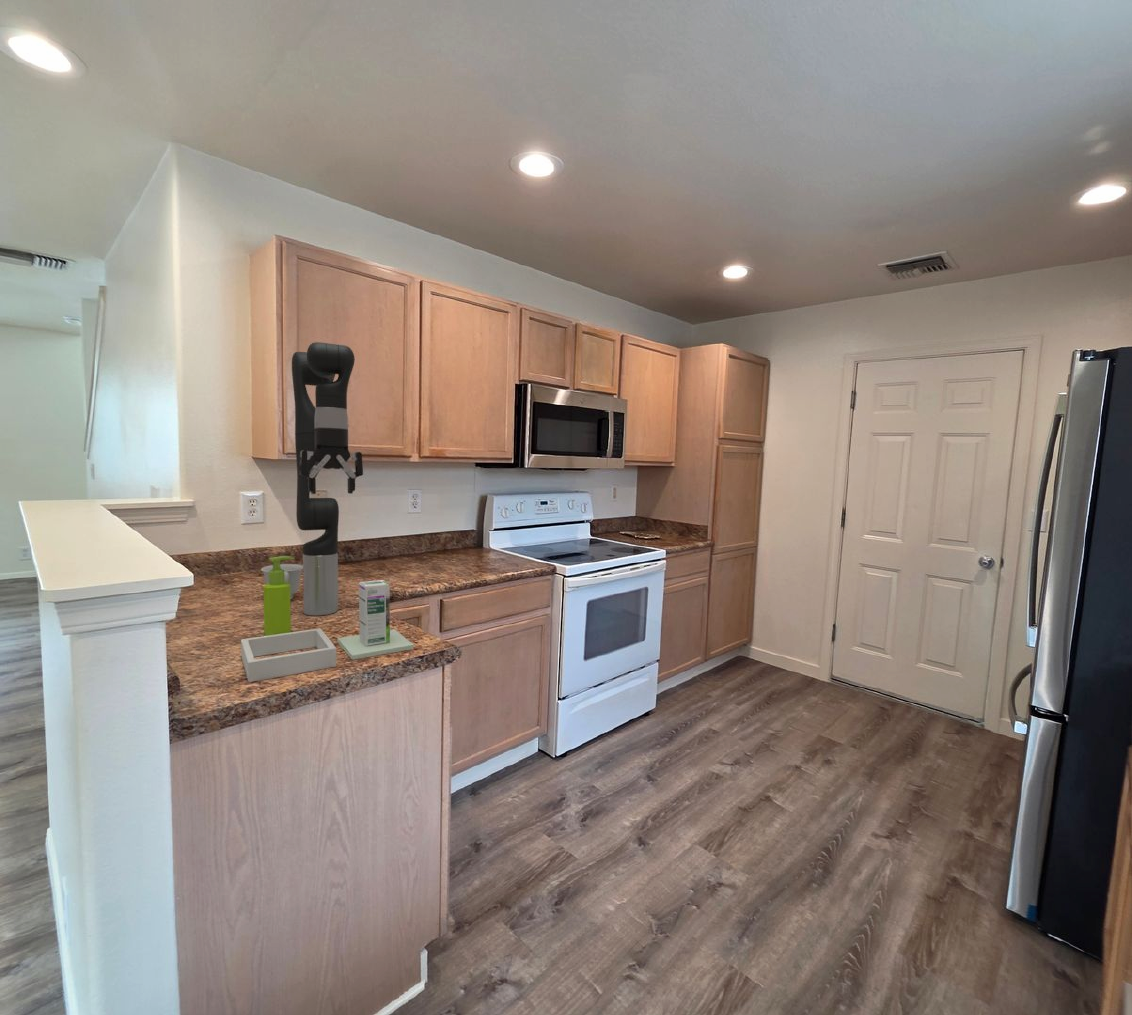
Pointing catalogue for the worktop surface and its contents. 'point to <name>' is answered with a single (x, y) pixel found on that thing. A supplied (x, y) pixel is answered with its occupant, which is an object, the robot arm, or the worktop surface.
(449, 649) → the worktop surface
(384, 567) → the worktop surface
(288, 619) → the soap dispenser
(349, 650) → the board
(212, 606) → the worktop surface
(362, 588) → the syrup box
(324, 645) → the gray square frame
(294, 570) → the teacup
